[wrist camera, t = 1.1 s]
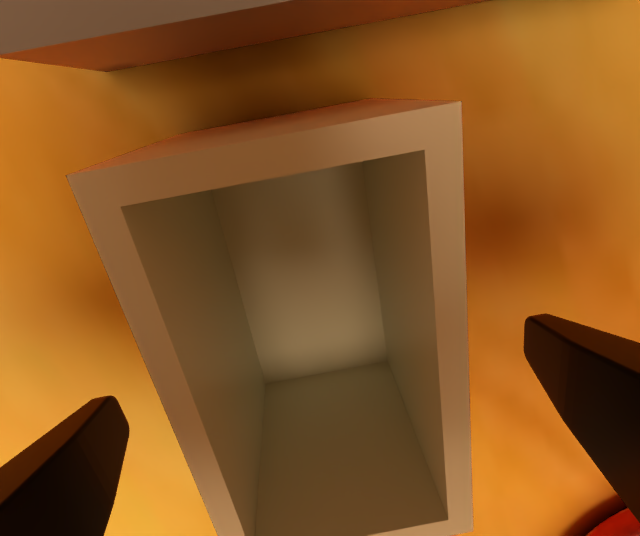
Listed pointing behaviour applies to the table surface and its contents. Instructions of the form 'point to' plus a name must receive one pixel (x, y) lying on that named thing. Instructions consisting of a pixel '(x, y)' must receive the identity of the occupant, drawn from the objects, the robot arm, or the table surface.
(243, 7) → the big crate
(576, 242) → the table surface
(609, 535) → the plant pot
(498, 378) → the table surface
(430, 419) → the small crate
